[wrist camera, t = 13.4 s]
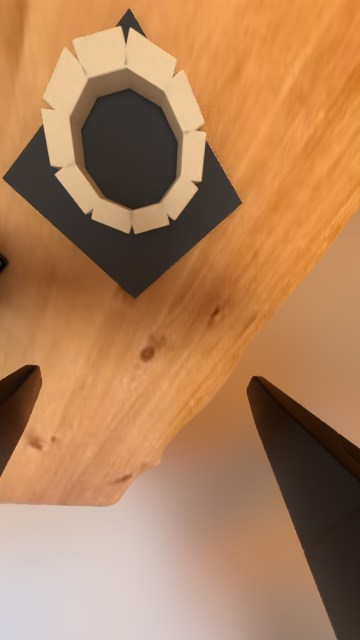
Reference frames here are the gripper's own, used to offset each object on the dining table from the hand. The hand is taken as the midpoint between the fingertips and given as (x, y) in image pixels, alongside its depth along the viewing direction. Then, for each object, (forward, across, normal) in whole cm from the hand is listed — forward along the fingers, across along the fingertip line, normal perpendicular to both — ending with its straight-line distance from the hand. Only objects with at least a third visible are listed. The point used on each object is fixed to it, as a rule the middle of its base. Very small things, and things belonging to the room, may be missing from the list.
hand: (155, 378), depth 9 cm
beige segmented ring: (+12, +2, -9) cm, 15 cm away
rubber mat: (+12, +2, -7) cm, 14 cm away
